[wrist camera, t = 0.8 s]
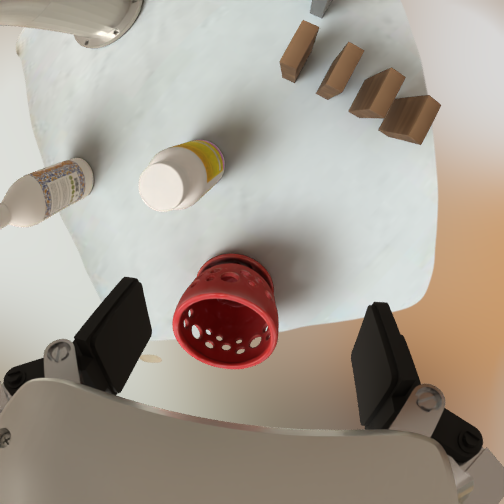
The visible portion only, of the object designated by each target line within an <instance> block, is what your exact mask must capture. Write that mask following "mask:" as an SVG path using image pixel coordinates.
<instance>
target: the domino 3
mask: <svg viewBox="0 0 504 504" xmlns="http://www.w3.org/2000/svg"><path fill="white" fill-rule="evenodd" d="M404 79H405V76H403V75H402V74H400V73H399V72H397V71H396V70H395V69H393V68H392V67H391V68H389V69H387V70H385V71H383V72H380V73H378V74H376V75H374V76H372V77H370V78H368V79H366V80H365V81H364V83H363V85H362V87H361V88H360V90H359V92H358V94H357V96H356V98H355V100H354V102H353V103H352V105H351V107H350V109H349V112H350V113H352V114H354V115H355V116H357V117H359V118H385V116H386V114H387V112H388V111H389V109H390V107H391V105H392V103H393V101H394V99H395V97H396V95H397V93H398V91H399V89H400V87H401V85H402V83H403V81H404Z"/></svg>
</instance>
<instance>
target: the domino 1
mask: <svg viewBox="0 0 504 504" xmlns="http://www.w3.org/2000/svg"><path fill="white" fill-rule="evenodd" d="M318 30H319V27H318V26H316V25H313V24H311V23H309V22H307V21H304V20H303V21H302V23H301V24H300V26H299V28H298V29H297V31H296V33H295V35H294V36H293V38H292V40H291V42H290V44H289V45H288V47H287V49H286V51H285V53H284V55H283V56H282V58H281V60H280V66H281V72H282V78H285V79H287V80H289V81H291V82H293V83H295V81H296V79H297V77H298V75H299V74H300V72H301V70H302V68H303V66H304V64H305V62H306V61H307V59H308V57H309V55H310V53H311V51H312V49H313V45H314V42H315V39H316V36H317V33H318Z"/></svg>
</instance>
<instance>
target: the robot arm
mask: <svg viewBox="0 0 504 504" xmlns="http://www.w3.org/2000/svg"><path fill="white" fill-rule="evenodd" d="M141 6H142V0H0V25H1V26H19V27H28V28H36V29H43V30H50V31H56V32H62V33H67V34H72V35H74V37H75V39H76V41H77V42H78V43H79V44H80V45H81V46H84V47H86V48H101V47H104V46H107V45H109V44H111V43H113V42H114V41H116V40H117V39H118V38H120V37H121V36H122V35H123V34H124V33H125V32H126V31H127V30H128V29H129V28H130V27H131V25H132V24H133V23H134V21H135V20H136V18H137V16H138V14H139V12H140V10H141ZM151 334H152V328H151V324H150V320H149V316H148V311H147V307H146V302H145V297H144V293H143V288H142V284H141V283H140V282H139V281H138V279H136V278H130V277H124V278H123V279H122V280H121V281H120V282H119V283H118V284H117V285H116V287H115V288H114V289H113V290H112V291H111V292H110V294H109V295H108V296H107V297H106V298H105V299H104V301H103V302H102V303H101V304H100V306H99V307H98V308H97V309H96V310H95V311H94V313H93V314H92V315H91V316H90V318H89V319H88V320H87V321H86V323H85V324H84V325H83V326H82V328H81V329H80V330H79V331H78V333H77V334H76V335H75V336H74V338H75V340H74V341H73V342H71V341H69V340H67V339H59V340H56V341H53V342H52V343H50V344H49V345H48V346H47V348H46V349H45V351H44V358H41V359H38V360H35V361H32V362H29V363H25V364H22V365H19V366H16V367H13V368H11V369H10V370H9V371H8V372H7V373H6V375H5V377H4V383H2V382H1V381H0V504H498V503H499V502H500V501H501V499H502V498H503V497H504V467H503V466H502V465H501V463H500V462H499V461H498V460H497V459H496V457H495V456H494V455H493V454H492V453H491V452H490V450H489V449H488V448H485V449H483V447H482V445H483V439H482V435H481V433H480V431H479V430H478V429H477V428H475V427H474V426H472V425H471V424H469V423H468V422H466V421H464V420H463V419H461V418H460V417H458V416H456V415H455V414H453V413H452V412H450V411H449V410H447V409H445V408H444V407H445V397H444V395H443V393H442V392H441V390H440V389H438V388H437V387H436V386H433V385H431V384H421V383H420V380H419V377H418V374H417V371H416V368H415V365H414V363H413V360H412V357H411V354H410V351H409V349H408V346H407V343H406V341H405V339H404V336H403V335H400V332H399V330H398V327H397V324H396V322H395V319H394V317H393V314H392V312H391V310H390V307H389V305H388V303H384V302H374V303H373V304H372V305H369V306H368V308H367V311H366V314H365V317H364V320H363V323H362V326H361V328H360V331H359V334H358V337H357V340H356V342H355V345H354V348H353V350H352V354H351V361H352V367H353V373H354V380H355V385H356V392H357V400H358V407H359V415H360V422H361V425H363V426H365V430H304V429H287V428H273V427H262V426H254V425H245V424H237V423H230V422H224V421H218V420H212V419H206V418H201V417H196V416H191V415H186V414H182V413H177V412H173V411H168V410H165V409H160V408H157V407H153V406H149V405H146V404H142V403H138V402H135V401H132V400H128V399H125V398H122V397H119V396H116V395H117V393H120V392H121V391H122V389H123V387H124V385H125V383H126V382H127V380H128V378H129V376H130V374H131V372H132V370H133V368H134V367H135V364H136V363H137V361H138V359H139V357H140V355H141V353H142V352H143V350H144V348H145V346H146V344H147V343H148V341H149V339H150V337H151Z"/></svg>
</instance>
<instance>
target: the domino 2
mask: <svg viewBox="0 0 504 504" xmlns="http://www.w3.org/2000/svg"><path fill="white" fill-rule="evenodd" d="M363 52H364V50H363V49H361V48H359V47H357V46H356V45H354V44H352V43H350V42H348V43H347V45H346V46H345V47H344V48H343V50H342V51H341V52H340V53H339V55H338V56H337V57H336V59H335V60H334V61H333V63H332V65H331V66H330V68H329V70H328V72H327V74H326V76H325V78H324V79H323V81H322V83H321V85H320V87H319V89H318V91H317V92H316V94H318V95H320V96H322V97H323V98H325V99H327V100H328V99H330V98H332V97H334V96H336V95H338V94H340V93H342V92H343V90H344V88H345V86H346V84H347V82H348V80H349V79H350V77H351V75H352V73H353V71H354V69H355V67H356V65H357V64H358V62H359V60H360V58H361V56H362V54H363Z"/></svg>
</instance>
